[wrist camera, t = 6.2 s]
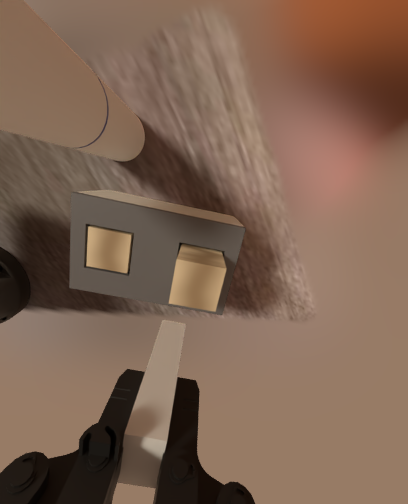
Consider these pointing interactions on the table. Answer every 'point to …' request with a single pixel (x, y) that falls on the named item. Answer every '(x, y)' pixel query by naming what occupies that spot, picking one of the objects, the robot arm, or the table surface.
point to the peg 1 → (109, 248)
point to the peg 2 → (198, 277)
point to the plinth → (148, 244)
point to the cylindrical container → (58, 91)
